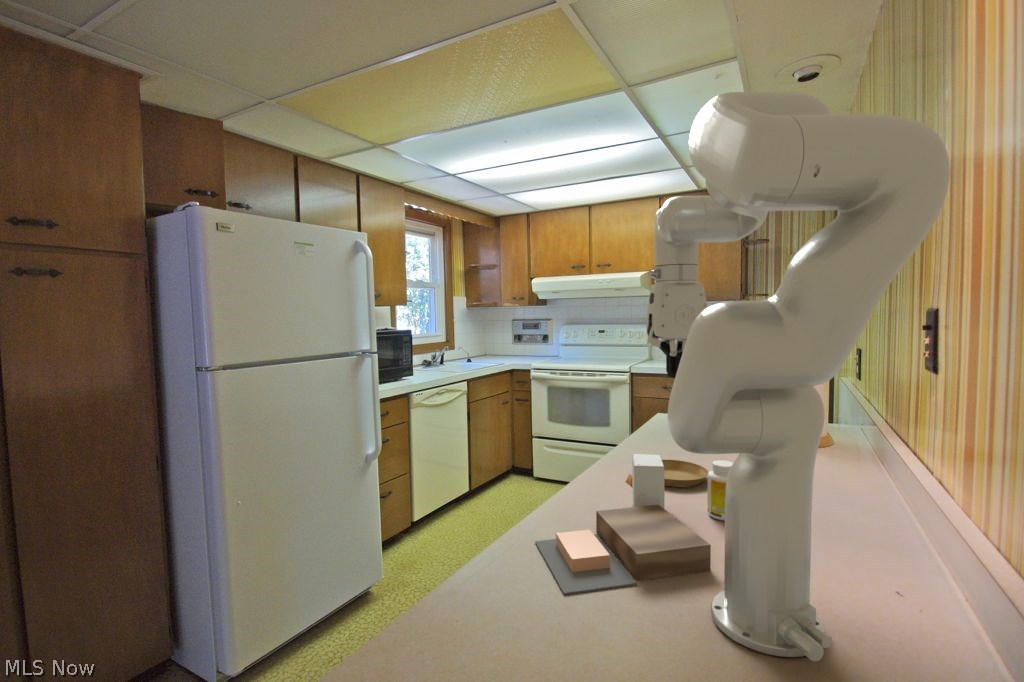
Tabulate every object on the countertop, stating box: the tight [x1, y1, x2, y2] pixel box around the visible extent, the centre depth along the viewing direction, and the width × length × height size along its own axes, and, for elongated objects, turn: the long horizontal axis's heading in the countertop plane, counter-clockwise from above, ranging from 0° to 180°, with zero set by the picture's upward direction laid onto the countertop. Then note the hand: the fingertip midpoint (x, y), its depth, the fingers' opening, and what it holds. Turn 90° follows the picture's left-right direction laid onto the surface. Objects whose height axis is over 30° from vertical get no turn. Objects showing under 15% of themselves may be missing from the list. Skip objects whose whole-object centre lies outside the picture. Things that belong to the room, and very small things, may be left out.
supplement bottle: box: [707, 459, 734, 522], centre depth 94 cm, size 6×6×10 cm
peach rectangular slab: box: [555, 529, 610, 572], centre depth 80 cm, size 9×6×2 cm, turn 11°
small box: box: [631, 453, 666, 510], centre depth 97 cm, size 8×6×10 cm
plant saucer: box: [662, 459, 710, 488], centre depth 116 cm, size 15×15×3 cm
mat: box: [535, 533, 638, 596], centre depth 78 cm, size 16×11×1 cm
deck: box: [595, 505, 712, 582], centre depth 82 cm, size 16×12×4 cm
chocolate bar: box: [625, 473, 633, 489], centre depth 109 cm, size 3×12×2 cm, turn 10°
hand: (675, 377), depth 91 cm, fingers closed
